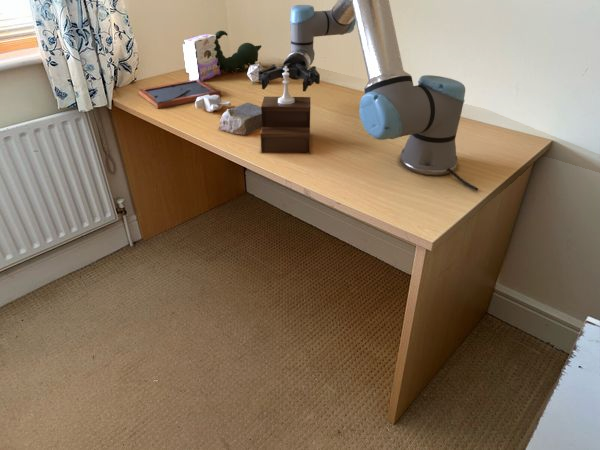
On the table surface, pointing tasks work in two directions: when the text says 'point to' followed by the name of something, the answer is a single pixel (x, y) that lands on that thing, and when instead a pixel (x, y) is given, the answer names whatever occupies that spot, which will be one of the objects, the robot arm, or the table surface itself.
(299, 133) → the step shelf
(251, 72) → the game die
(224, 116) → the geological specimen
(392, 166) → the table surface
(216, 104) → the bunny figurine
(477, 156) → the table surface
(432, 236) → the table surface
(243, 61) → the toy figurine
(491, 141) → the table surface
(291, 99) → the chess piece
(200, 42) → the candy box
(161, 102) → the picture frame
